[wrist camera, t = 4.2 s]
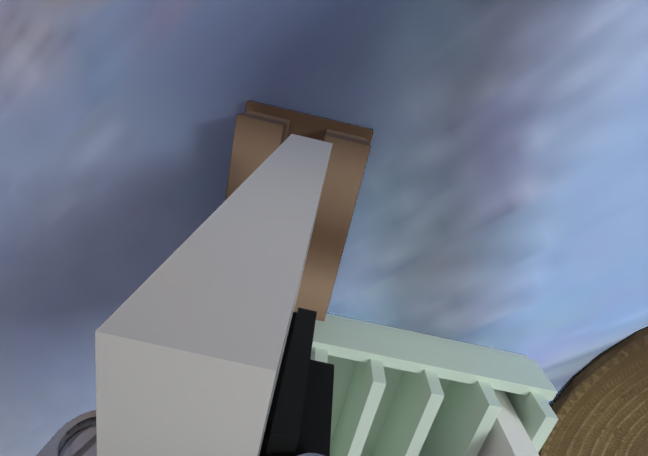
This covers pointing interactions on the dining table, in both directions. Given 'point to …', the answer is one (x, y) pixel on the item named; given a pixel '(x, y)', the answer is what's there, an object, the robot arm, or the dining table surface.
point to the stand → (337, 193)
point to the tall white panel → (212, 321)
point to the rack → (429, 394)
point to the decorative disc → (605, 405)
